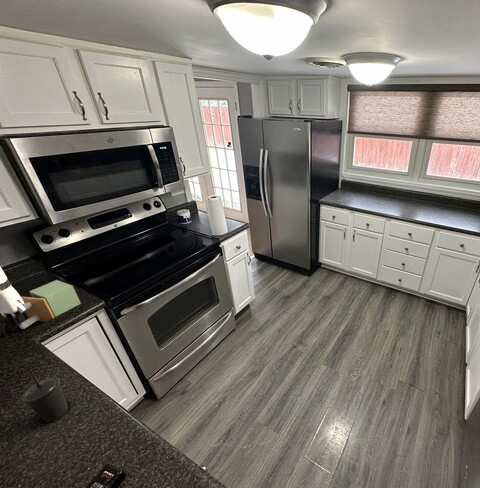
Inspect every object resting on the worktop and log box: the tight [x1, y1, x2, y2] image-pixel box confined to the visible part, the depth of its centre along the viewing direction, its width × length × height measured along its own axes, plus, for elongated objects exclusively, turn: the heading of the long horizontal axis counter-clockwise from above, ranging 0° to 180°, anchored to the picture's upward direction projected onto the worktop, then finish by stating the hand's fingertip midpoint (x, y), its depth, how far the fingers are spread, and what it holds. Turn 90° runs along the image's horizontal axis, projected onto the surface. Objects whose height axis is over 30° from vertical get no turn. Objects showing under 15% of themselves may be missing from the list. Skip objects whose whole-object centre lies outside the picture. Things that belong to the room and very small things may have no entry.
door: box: [15, 296, 55, 330], centre depth 113 cm, size 8×12×13 cm, turn 86°
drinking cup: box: [21, 371, 69, 423], centre depth 77 cm, size 8×8×20 cm
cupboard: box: [29, 279, 82, 318], centre depth 122 cm, size 10×12×13 cm
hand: (18, 322), depth 110 cm, fingers closed on door, 2 cm apart
